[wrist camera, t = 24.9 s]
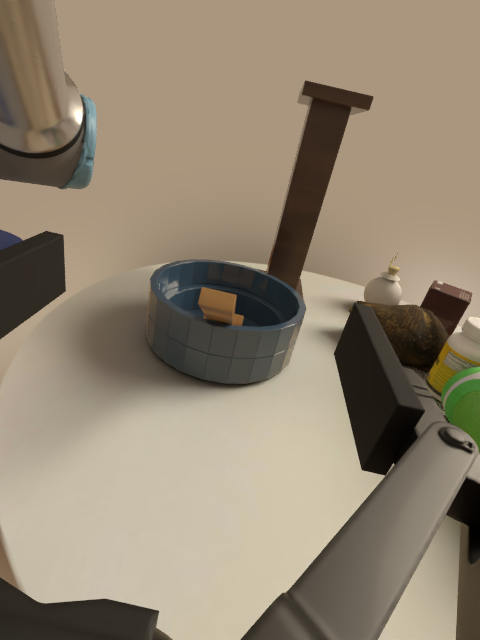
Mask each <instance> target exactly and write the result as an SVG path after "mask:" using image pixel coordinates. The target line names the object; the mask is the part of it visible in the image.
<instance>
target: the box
mask: <svg viewBox="0 0 480 640" xmlns="http://www.w3.org/2000/svg"><path fill="white" fill-rule="evenodd" d="M471 297H472V293H471V292H468V291H465V290H462V289H459V288H456V287H454V286H451V285H448V284H445V283H442V282H439V281H434V282H433V283H432V285H431V287H430V288H429V290H428V292H427V294H426V296H425V298H424V300H423V302H422V304H421V306H420V307H422V308H424V309H427V310H429V311H430V312H431V313H433V314H434V315H435V316H436V317H437V318H438V320H439V321H440V322H442V325H443V326H444V328H445V330H446V332H447V334H448V336H449V337H450V336H451V335H452V333H453V332H454V330H455V328H456V326H457V325H458V323H459V321H460V319H461V317H462V316H463V314H464V312H465V310H466V309H467V307H468V305H469V304H470V302H471Z"/></svg>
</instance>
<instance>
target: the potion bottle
mask: <svg viewBox="0 0 480 640" xmlns="http://www.w3.org/2000/svg"><path fill="white" fill-rule="evenodd" d="M396 256H397V255H396ZM396 256H395V258H397V257H396ZM391 263H392V261H391ZM399 270H400V268H398V267H396V266H392V265H391V264H390V265H389V269H388V272H383V273H381V275H382V276H383V277H379V278H375V279H373V280H372V281H371V282H369V283H368V285H367V286H366V288H365V291H364V299H365V302H367V303H378V304H385V305H398V304H399V302H400V300H401V297H402V291H401V288H400V286H399V284H398V283H397V282H396V281H400V278H399V277H398V276H397V275H396V273H397V272H398V271H399Z"/></svg>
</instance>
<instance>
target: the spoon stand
mask: <svg viewBox="0 0 480 640" xmlns="http://www.w3.org/2000/svg"><path fill="white" fill-rule="evenodd" d="M372 100H373V96H369V95H365V94H361V93H357V92H352V91H348V90H344V89H339V88H335V87H331V86H326V85H322V84H318V83H314V82H309V81H305V82H304V85H303V87H302V89H301V91H300V95H299V98H298V103H300V104H305V105H309V106H308V110H307V114H306V118H305V122H304V126H303V130H302V134H301V138H300V142H299V146H298V150H297V154H296V157H295V162H294V165H293V169H292V173H291V177H290V181H289V185H288V189H287V193H286V197H285V200H284V204H283V208H282V212H281V216H280V220H279V224H278V228H277V232H276V236H275V240H274V244H273V248H272V251H271V256H270V259H269V263H268V267H267V271H263V270H260V271H262V272H265V273H267V274H270V275H272V276H274V277H276V278H278V279H279V280H281V281H283V282H285V283H287V284H288V285H289V286H291V287H292V288H293V289H295V290H296V291H297V292H298V294H299V295H300V296H301V297H302V298H303V293H302V286H301V279H300V275H301V272H302V269H303V265H304V262H305V259H306V255H307V252H308V249H309V246H310V243H311V239H312V236H313V233H314V229H315V226H316V223H317V220H318V216H319V213H320V210H321V207H322V203H323V200H324V197H325V193H326V190H327V187H328V183H329V180H330V177H331V174H332V171H333V167H334V164H335V161H336V157H337V154H338V151H339V148H340V144H341V141H342V138H343V135H344V131H345V128H346V125H347V122H348V118H349V115H353V114H357V113H360V112H364V111H368V110H369V109H370V106H371V103H372ZM257 270H259V269H257Z"/></svg>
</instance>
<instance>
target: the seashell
mask: <svg viewBox="0 0 480 640" xmlns="http://www.w3.org/2000/svg"><path fill="white" fill-rule="evenodd" d="M357 303H358V304H362V305H367V306H371V307H372V309H373V311H374V312H375V314H376V316H377V318H378V320H379V322H380V324H381V326H382V328H383V330H384V332H385V334H386V336H387V338H388V340H389V341H390V343H391V345H392V347H393V349H394V351H395V353H396V355H397V357H398V359H399V361H400V362H401V363H404V364H408V365H411V366H414V367H417V368H419V369H423V370H426V371H429V372H430V370H431V368H432V367H433V365H434V363H435V361H436V359H437V358H438V356H439V354H440V352H441V351H442V349H443V347H444V345H445V343H446V341H447V340H448V338H449V336H448V334H447V332H446V330H445V328H444V326H443V325H442V322H440V321H439V320H438V318H437V317H436V316H435V315H434V314H433V313H431V312H430V311H429V310H427V309H424V308H422V307H419V306H417V305H385V304H378V303H367V302H363V301H357ZM349 308H350V310H349V312H350V313H351V310H352V308H353V307H349Z"/></svg>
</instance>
